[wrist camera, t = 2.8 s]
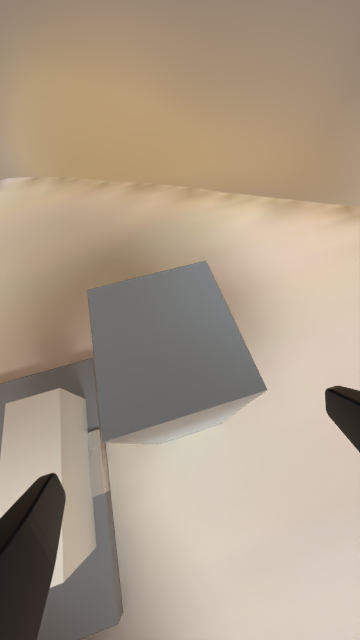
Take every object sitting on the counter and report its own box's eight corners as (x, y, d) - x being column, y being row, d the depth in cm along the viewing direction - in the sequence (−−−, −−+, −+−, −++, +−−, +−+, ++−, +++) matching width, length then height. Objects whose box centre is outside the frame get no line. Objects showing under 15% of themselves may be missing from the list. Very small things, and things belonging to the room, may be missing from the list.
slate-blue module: (220, 424, 16) (267, 389, 6) (158, 444, 15) (102, 442, 6) (197, 358, 18) (206, 260, 8) (143, 374, 18) (87, 290, 8)
